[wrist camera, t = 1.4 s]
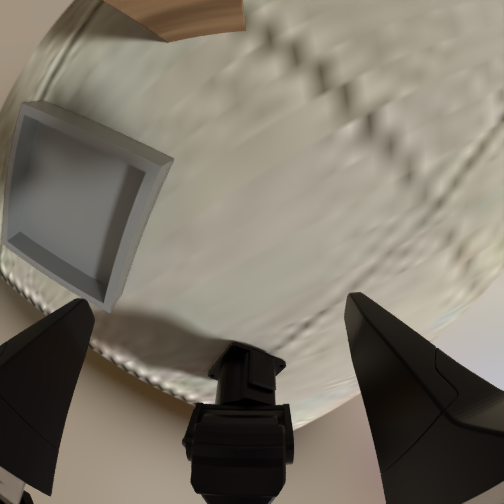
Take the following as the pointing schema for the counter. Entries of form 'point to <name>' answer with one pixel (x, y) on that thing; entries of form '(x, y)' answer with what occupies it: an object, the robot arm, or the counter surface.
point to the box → (78, 199)
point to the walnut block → (184, 16)
